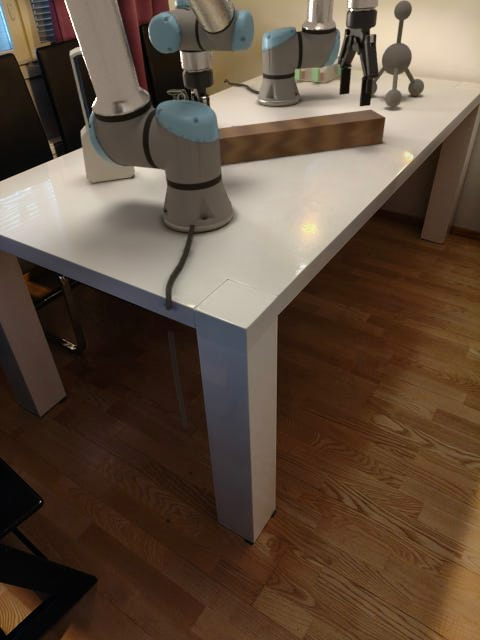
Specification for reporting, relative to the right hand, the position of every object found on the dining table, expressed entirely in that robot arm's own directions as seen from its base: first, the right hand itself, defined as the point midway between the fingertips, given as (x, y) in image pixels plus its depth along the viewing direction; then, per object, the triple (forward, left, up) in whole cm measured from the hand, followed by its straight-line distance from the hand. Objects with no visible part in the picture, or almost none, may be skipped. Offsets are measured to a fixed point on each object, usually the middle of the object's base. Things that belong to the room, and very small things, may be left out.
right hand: (354, 99), depth 135 cm
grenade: (-44, -40, -12) cm, 60 cm away
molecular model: (-33, +38, -12) cm, 51 cm away
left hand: (-5, -42, -10) cm, 44 cm away
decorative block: (-79, +31, -12) cm, 86 cm away
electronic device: (-6, -69, -12) cm, 70 cm away
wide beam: (-2, -21, -12) cm, 24 cm away
